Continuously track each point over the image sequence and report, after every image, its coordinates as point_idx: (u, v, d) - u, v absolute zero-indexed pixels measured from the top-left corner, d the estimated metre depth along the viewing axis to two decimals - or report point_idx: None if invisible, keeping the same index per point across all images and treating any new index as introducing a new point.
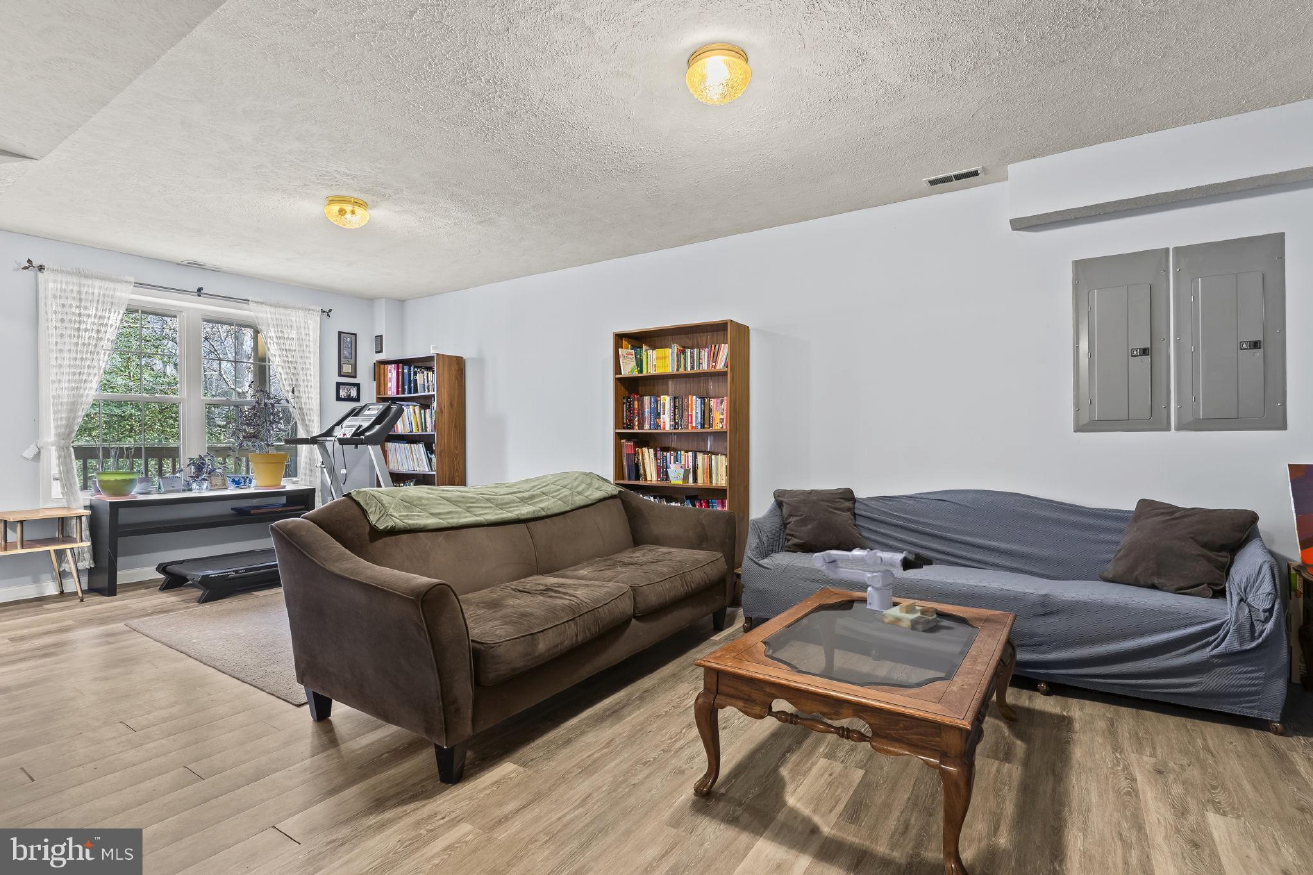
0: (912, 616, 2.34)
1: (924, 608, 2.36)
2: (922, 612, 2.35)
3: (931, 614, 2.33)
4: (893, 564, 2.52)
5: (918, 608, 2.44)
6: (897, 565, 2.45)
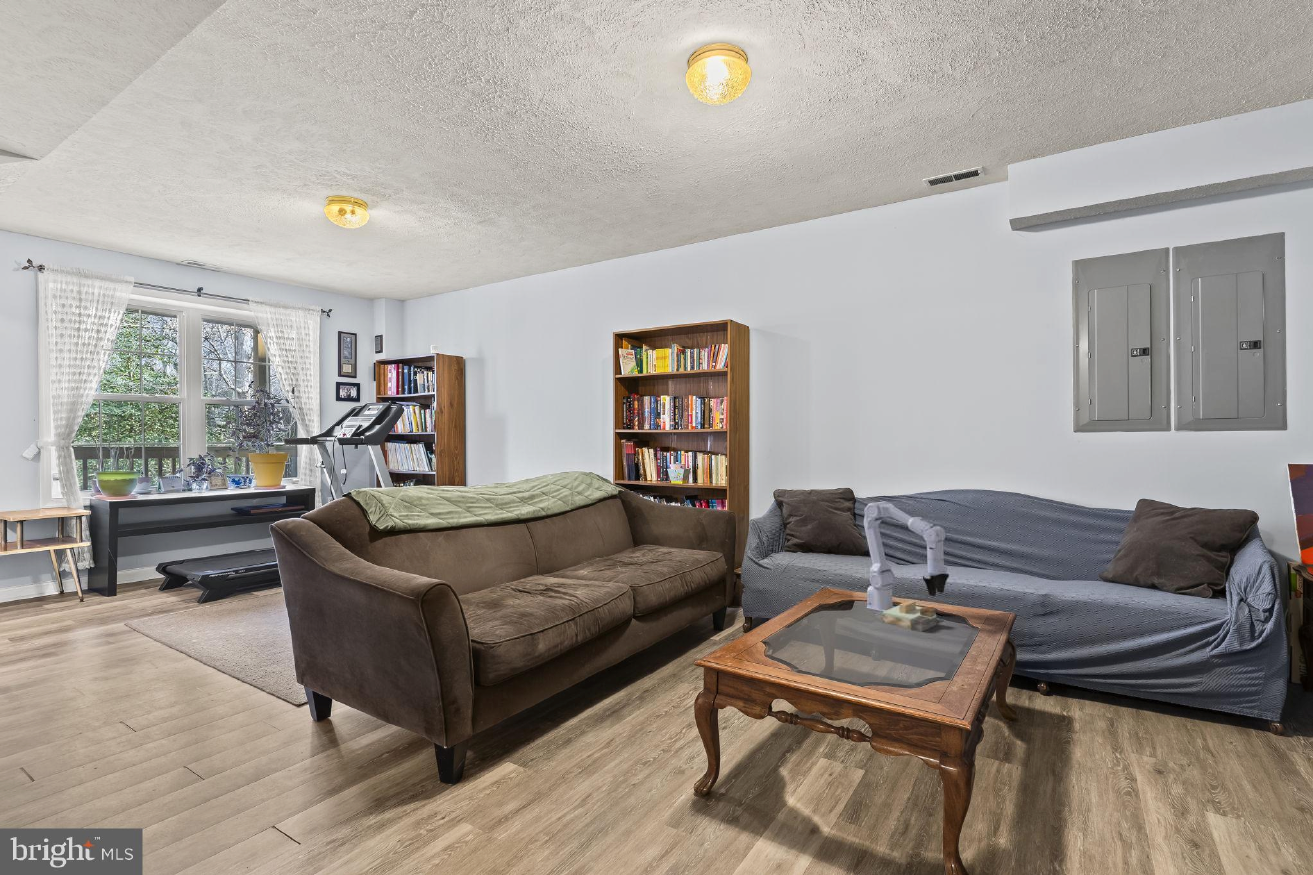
0: (912, 616, 2.34)
1: (924, 608, 2.36)
2: (922, 612, 2.35)
3: (931, 614, 2.33)
4: (928, 560, 2.39)
5: (918, 608, 2.44)
6: (925, 574, 2.36)
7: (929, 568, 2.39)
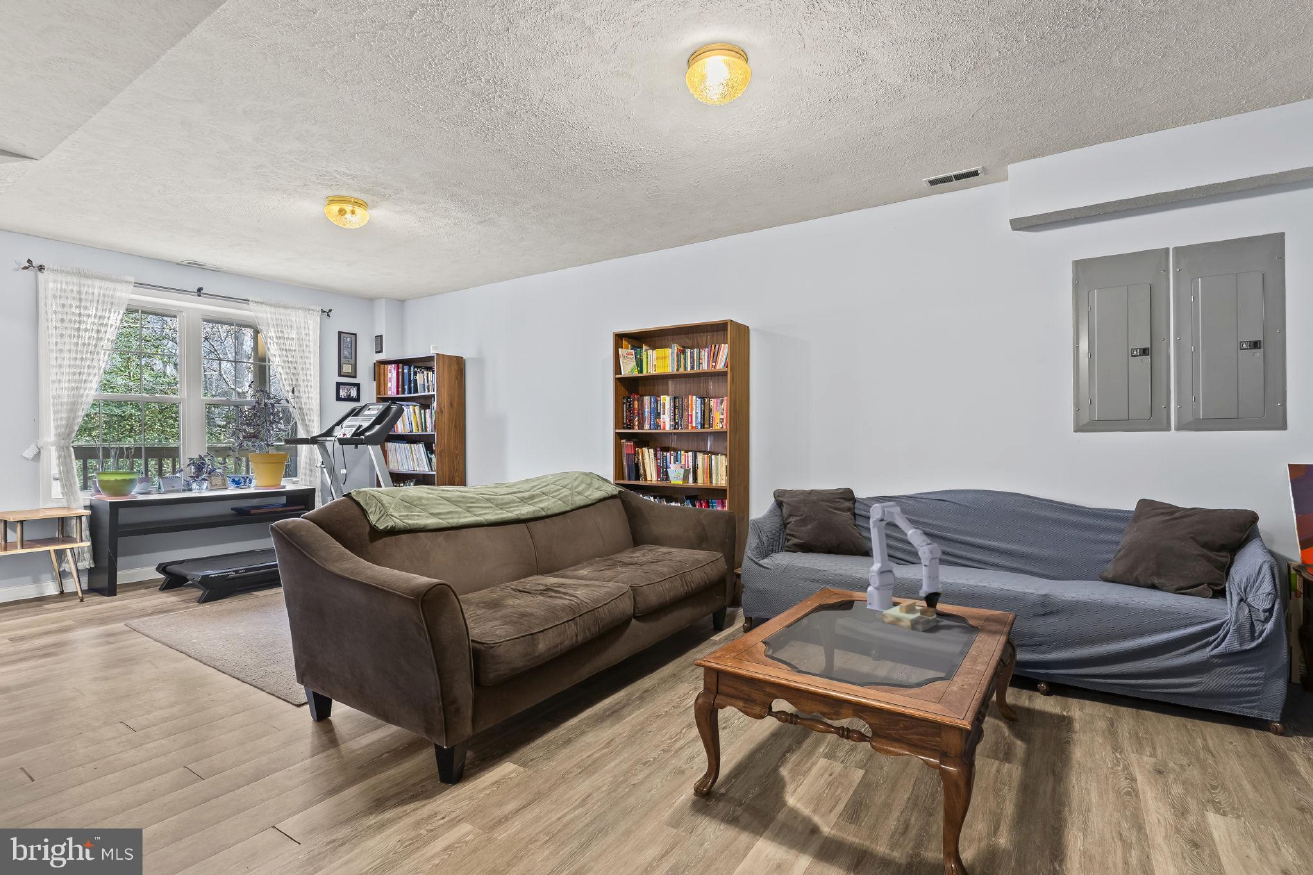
0: (912, 616, 2.34)
1: (924, 608, 2.36)
2: (922, 612, 2.35)
3: (930, 614, 2.33)
4: (924, 578, 2.37)
5: (918, 608, 2.44)
6: (920, 592, 2.33)
7: (924, 586, 2.37)
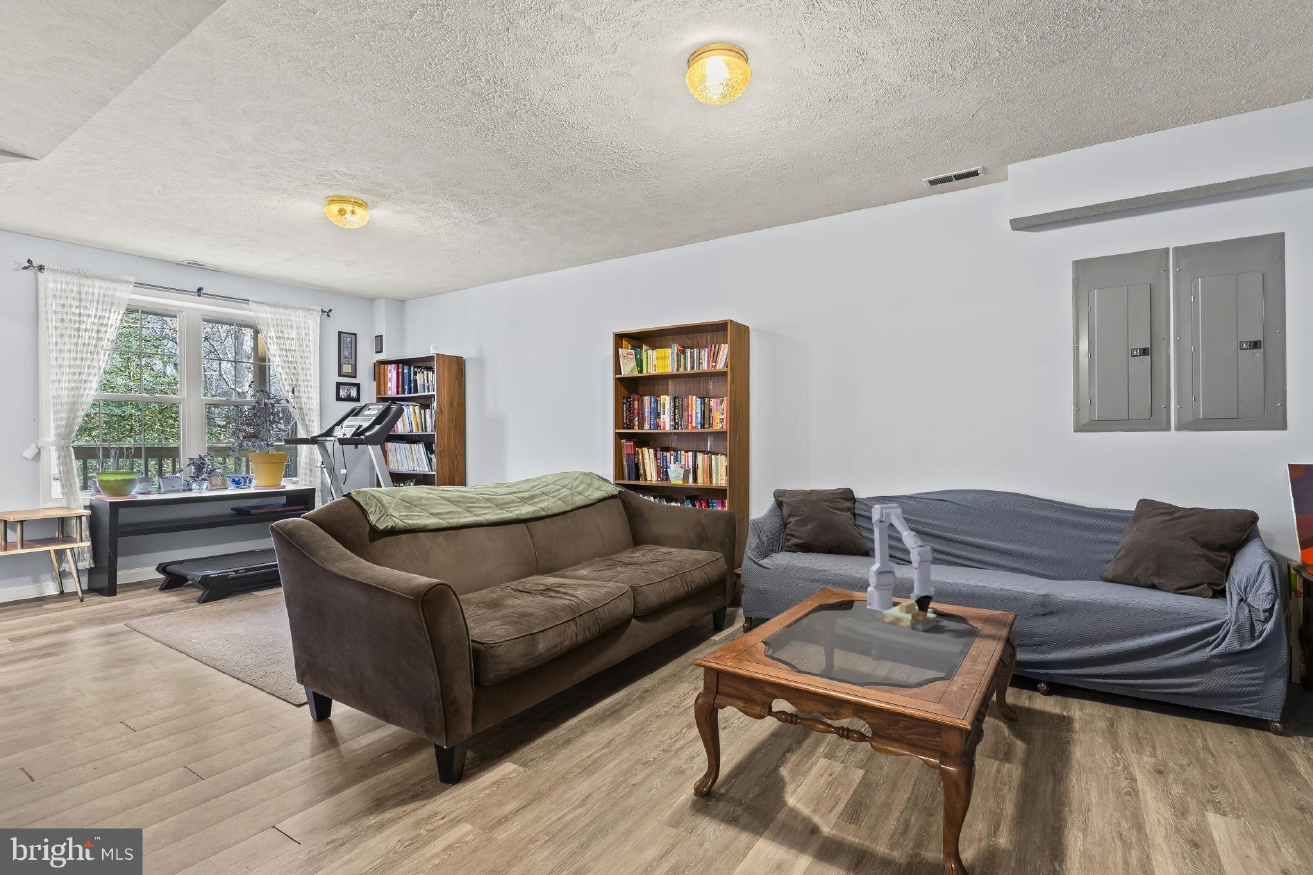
0: None
1: (915, 612, 2.32)
2: (913, 616, 2.31)
3: (922, 618, 2.29)
4: (915, 581, 2.33)
5: None
6: (911, 596, 2.29)
7: (916, 589, 2.32)
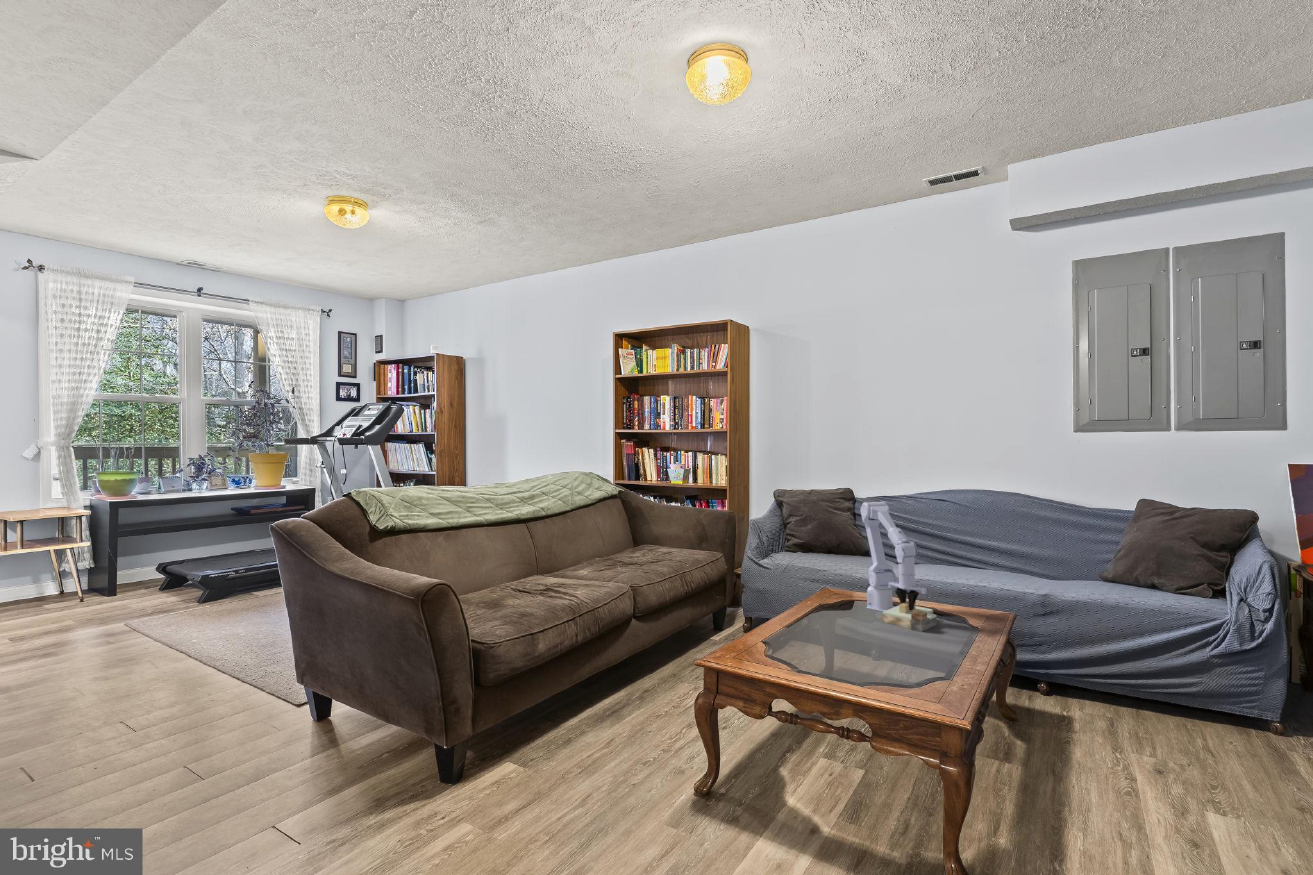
0: None
1: (915, 612, 2.32)
2: (913, 616, 2.31)
3: (922, 618, 2.29)
4: None
5: (918, 608, 2.44)
6: None
7: None
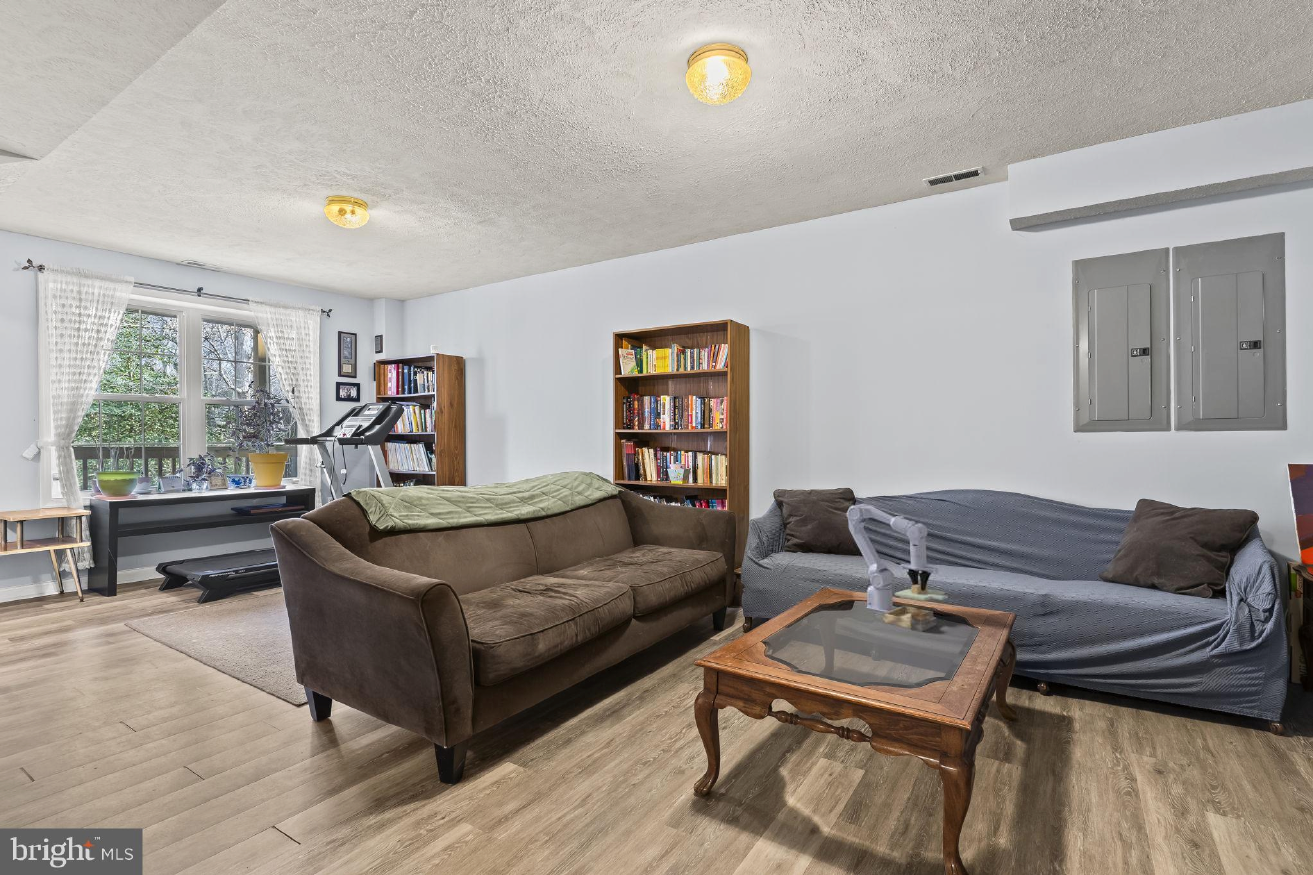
0: (924, 596, 2.40)
1: (915, 612, 2.32)
2: (913, 616, 2.31)
3: (922, 618, 2.29)
4: None
5: (930, 590, 2.50)
6: None
7: None
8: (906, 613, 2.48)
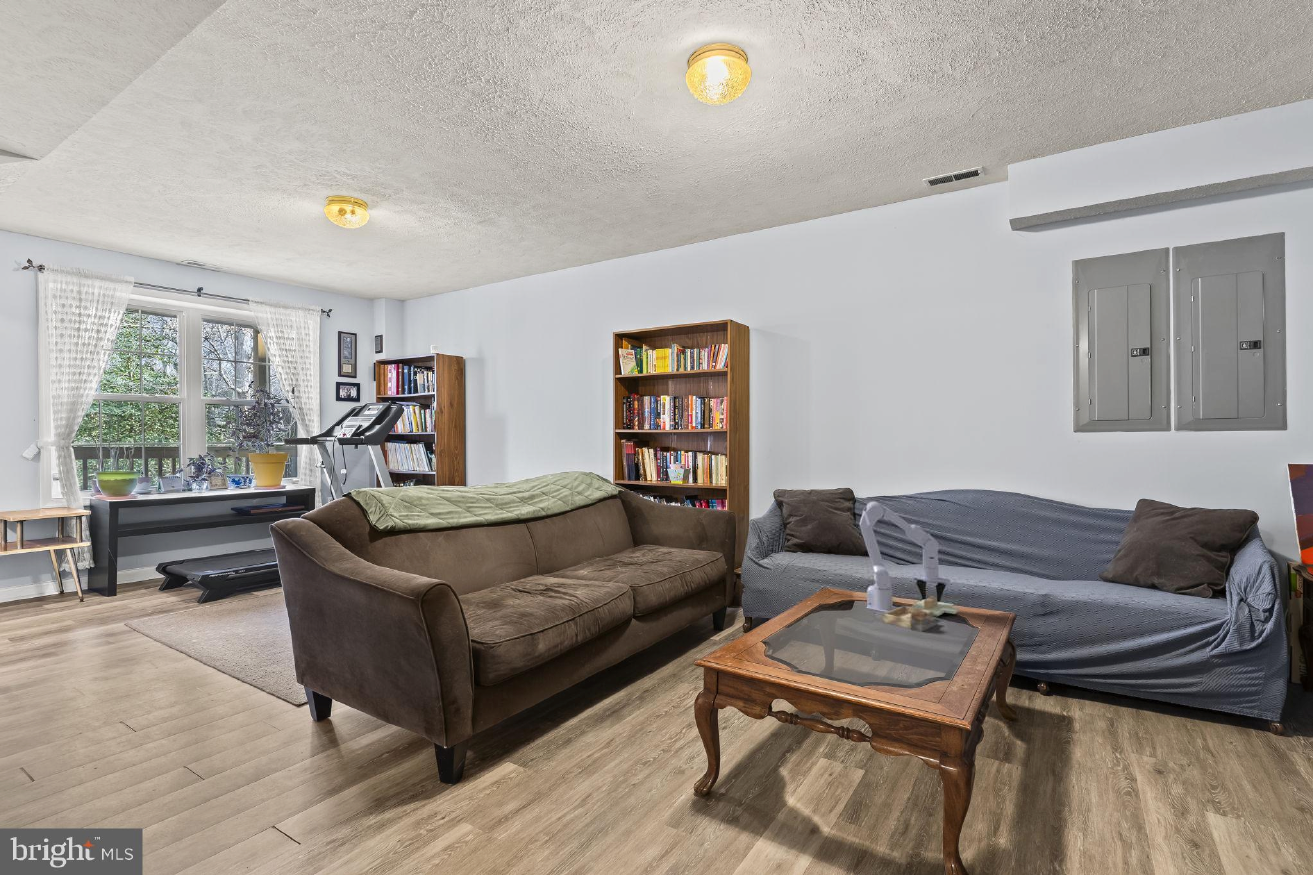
0: (938, 611, 2.46)
1: (915, 612, 2.32)
2: (913, 616, 2.31)
3: (922, 618, 2.29)
4: None
5: (939, 603, 2.57)
6: None
7: None
8: (906, 613, 2.48)
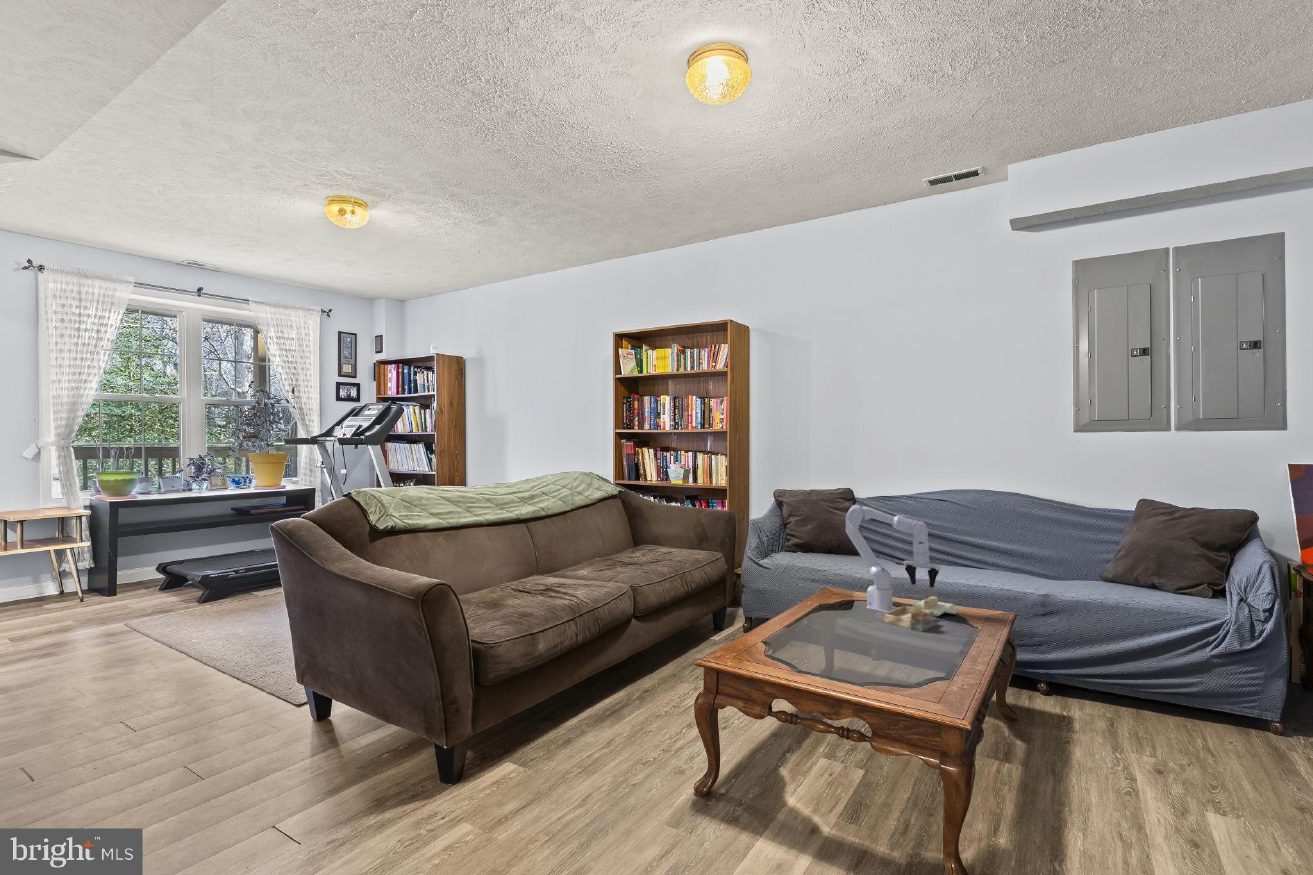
0: (938, 611, 2.46)
1: (915, 612, 2.32)
2: (913, 616, 2.31)
3: (922, 618, 2.29)
4: None
5: (939, 603, 2.57)
6: None
7: None
8: (906, 613, 2.48)
